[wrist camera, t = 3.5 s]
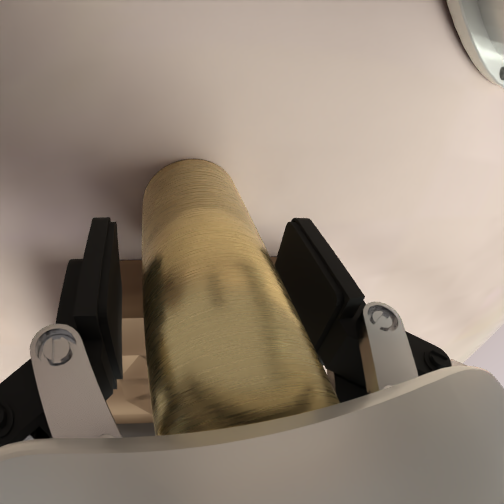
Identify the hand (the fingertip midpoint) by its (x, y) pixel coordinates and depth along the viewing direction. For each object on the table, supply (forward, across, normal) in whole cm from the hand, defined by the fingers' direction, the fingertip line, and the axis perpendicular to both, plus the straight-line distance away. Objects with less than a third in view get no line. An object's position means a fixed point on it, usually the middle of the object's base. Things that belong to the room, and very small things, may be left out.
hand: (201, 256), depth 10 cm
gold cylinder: (+4, 0, 0) cm, 4 cm away
